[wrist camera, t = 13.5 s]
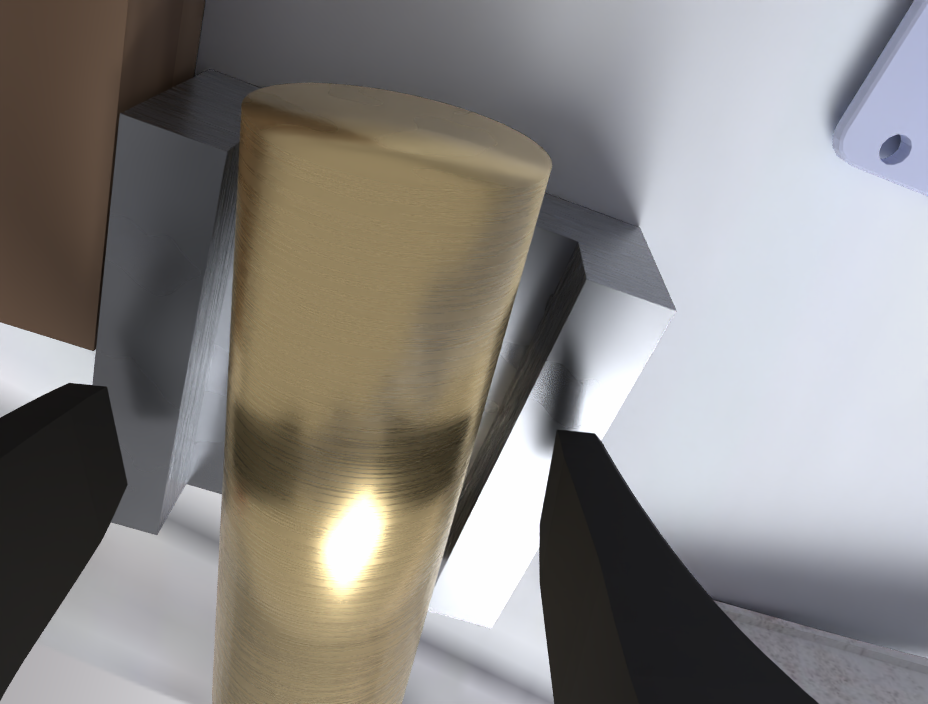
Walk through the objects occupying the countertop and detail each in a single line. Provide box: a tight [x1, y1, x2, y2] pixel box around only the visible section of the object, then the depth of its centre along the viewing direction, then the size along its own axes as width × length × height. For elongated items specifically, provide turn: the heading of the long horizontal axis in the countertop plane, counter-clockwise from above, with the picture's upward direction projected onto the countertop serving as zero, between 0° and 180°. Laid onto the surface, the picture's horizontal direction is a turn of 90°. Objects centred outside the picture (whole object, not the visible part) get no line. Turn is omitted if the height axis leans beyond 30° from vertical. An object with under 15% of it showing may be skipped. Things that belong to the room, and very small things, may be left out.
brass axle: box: [212, 83, 552, 704], centre depth 12 cm, size 12×4×4 cm, turn 168°
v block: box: [93, 69, 676, 629], centre depth 14 cm, size 8×8×4 cm
